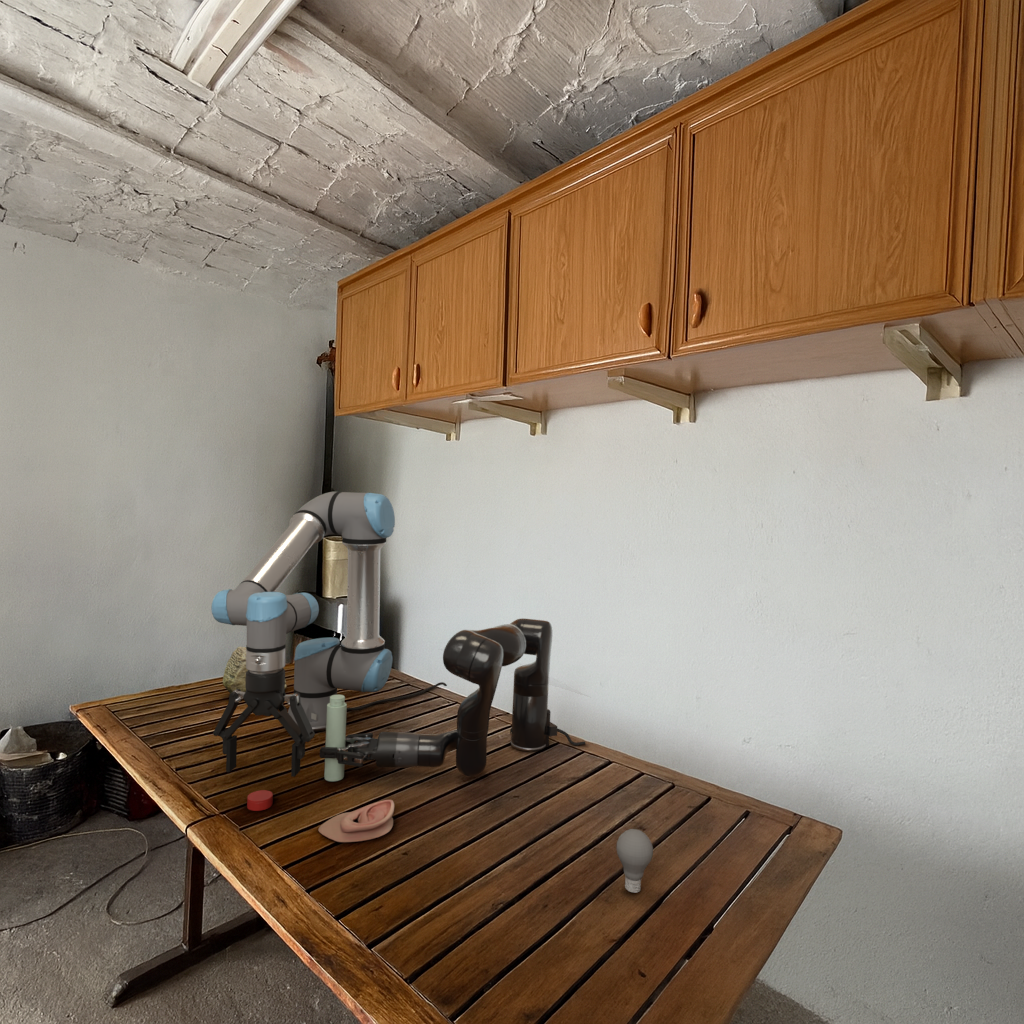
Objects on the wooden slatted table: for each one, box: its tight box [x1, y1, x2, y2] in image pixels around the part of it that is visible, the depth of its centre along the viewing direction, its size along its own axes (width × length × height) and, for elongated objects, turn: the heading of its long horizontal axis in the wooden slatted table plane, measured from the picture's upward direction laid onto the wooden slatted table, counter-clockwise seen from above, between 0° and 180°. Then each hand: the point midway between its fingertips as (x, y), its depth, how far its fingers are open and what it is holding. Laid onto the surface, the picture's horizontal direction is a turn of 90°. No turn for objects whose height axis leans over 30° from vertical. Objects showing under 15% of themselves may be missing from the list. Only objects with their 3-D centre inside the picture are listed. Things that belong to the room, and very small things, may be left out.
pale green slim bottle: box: [323, 694, 348, 782], centre depth 143 cm, size 4×4×18 cm
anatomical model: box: [317, 799, 395, 843], centre depth 122 cm, size 13×4×12 cm
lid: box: [246, 789, 274, 812], centre depth 129 cm, size 5×5×2 cm
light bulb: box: [615, 828, 654, 894], centre depth 106 cm, size 6×6×10 cm
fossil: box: [222, 646, 288, 694], centre depth 198 cm, size 9×18×15 cm, turn 132°
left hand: (263, 771), depth 130 cm, fingers open, 13 cm apart
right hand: (323, 748), depth 143 cm, fingers closed on pale green slim bottle, 4 cm apart
